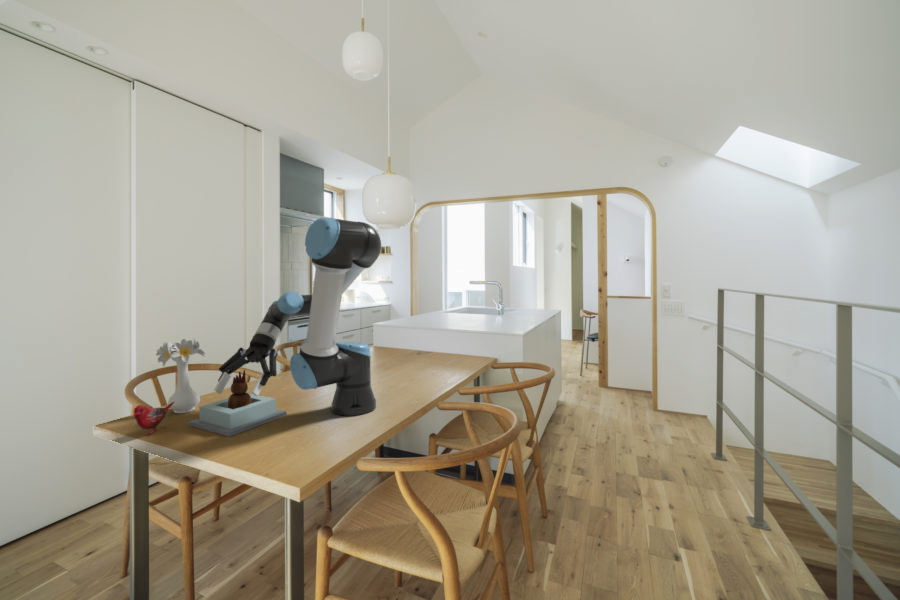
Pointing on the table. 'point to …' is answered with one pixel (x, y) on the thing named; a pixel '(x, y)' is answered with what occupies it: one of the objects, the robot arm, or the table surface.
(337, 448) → the table surface
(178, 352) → the flower vase
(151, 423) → the decorative bird figurine
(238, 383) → the wooden figurine
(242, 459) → the table surface
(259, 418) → the collar stand
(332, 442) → the table surface
